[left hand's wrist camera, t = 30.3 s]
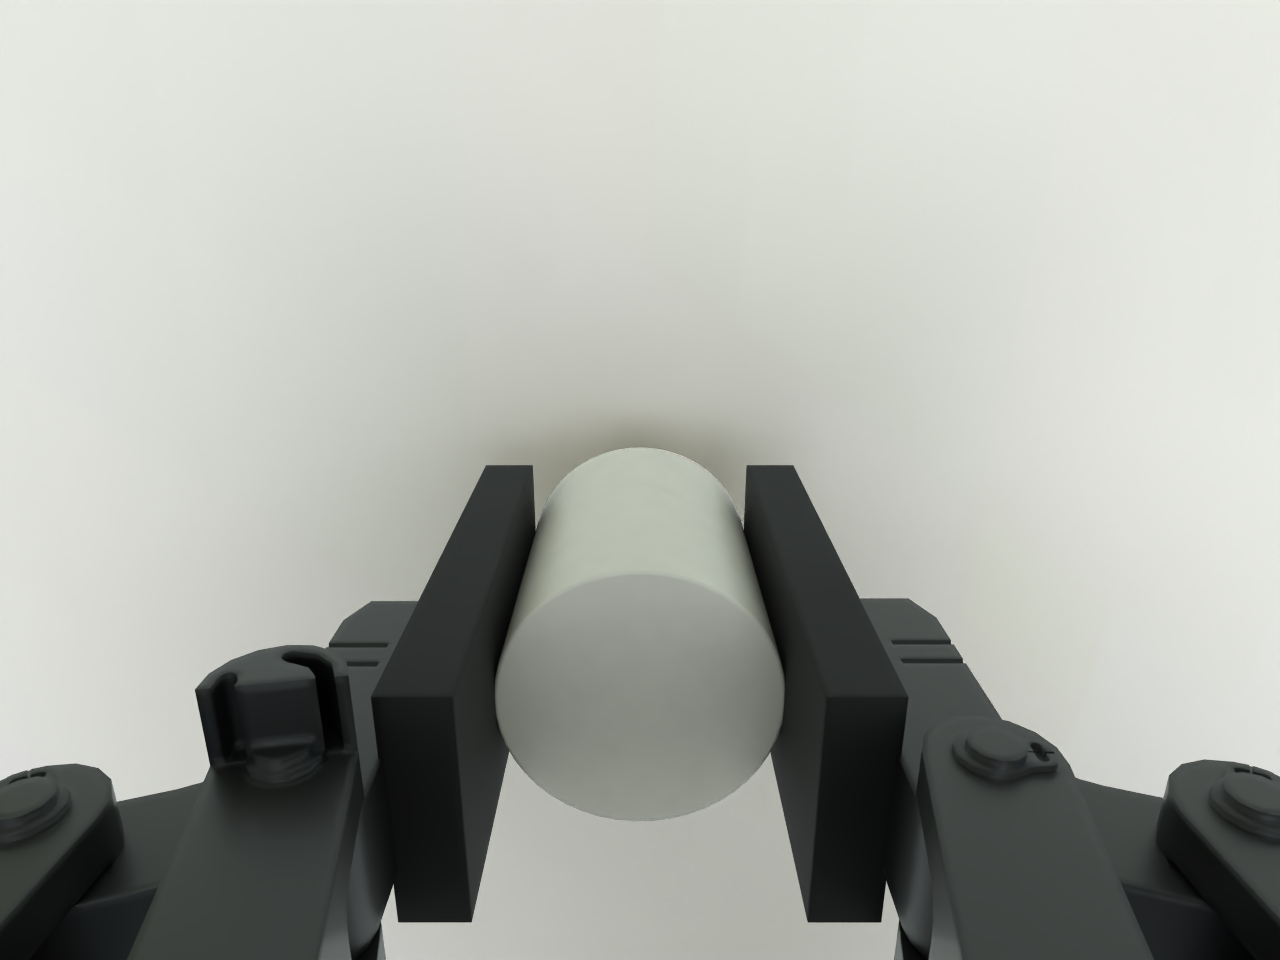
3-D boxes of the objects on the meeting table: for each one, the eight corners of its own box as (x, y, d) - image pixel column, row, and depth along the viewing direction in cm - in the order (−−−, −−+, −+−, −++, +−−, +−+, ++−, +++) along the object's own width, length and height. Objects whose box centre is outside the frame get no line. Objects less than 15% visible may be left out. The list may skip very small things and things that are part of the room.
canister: (646, 403, 14) (650, 510, 10) (785, 550, 15) (847, 712, 11) (493, 539, 15) (432, 696, 10) (633, 671, 16) (631, 868, 11)
